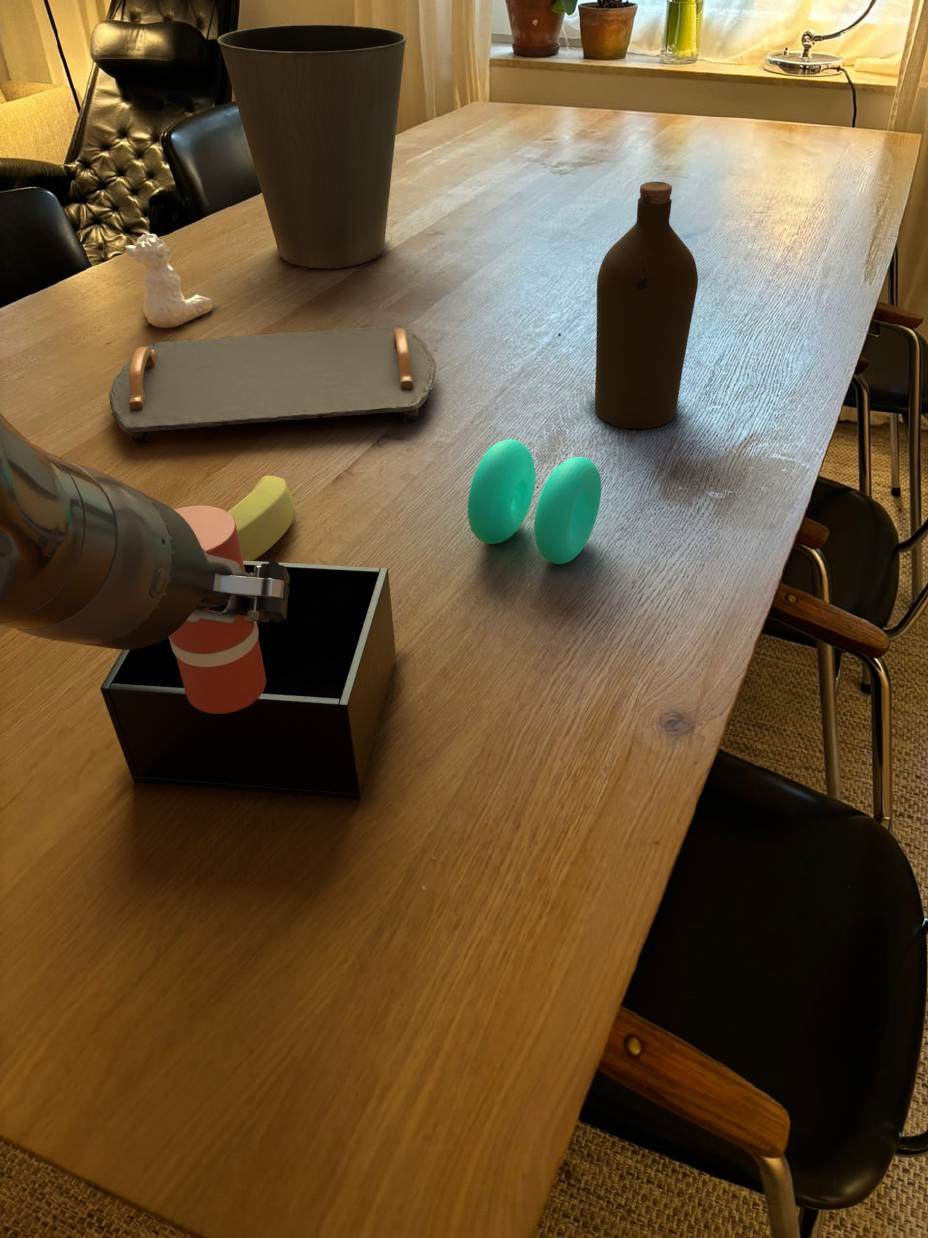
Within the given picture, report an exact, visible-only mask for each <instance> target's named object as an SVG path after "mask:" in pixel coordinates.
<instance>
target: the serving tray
mask: <svg viewBox="0 0 928 1238" xmlns="http://www.w3.org/2000/svg"><path fill="white" fill-rule="evenodd" d="M436 371H437V364H436V361H435V358H434V355H433V354H432V353H431V351H430V350H429V349H428V347H427V345H426V343H424V341H423V340H422V339H421V338H420V337H418V336H417V335H416V334H414V333H413V332H412V331H411V330H410V329H408V328H406V327H403V326H401V325H384V326H383V325H382V326H365V327H359V328H357V327H355V328H354V327H352V328H351V327H350V328H333V329H323V330H317V331H315V330H314V331H299V332H298V331H297V332H296V331H289V332H276V333H275V332H273V333H266V334H264V333H263V334H255V335H254V334H253V335H239V336H234V335H231V336H223V337H213V338H199V339H183V340H171V341H160V342H154V343H151V344H149V345H147V346H141V347H137V348H136V349H135V351H134V353H133V355H132V357H131V358H130V359H129V361H128V362H126V364H124V365H123V366H122V369H121V371H119V373H118V374H116V376H115V377H114V380H113V384H112V385H111V388H110V392H109V396H108V399H109V405H110V410H111V415H112V416H113V417H114V419H115V420H116V421H117V424H118V426H119V428H120V429H121V430H122V431H124V432H125V433H127V435H128V438H129V439H130V440H131V441H132V442H133V443H134V444H135V445H141V444H144V443H146V442H147V439H148V438H149V437H148V436H149V432H156V431H157V432H158V431H173V430H184V429H185V430H186V429H197V428H212V427H222V426H234V425H250V424H259V423H277V422H286V421H287V422H288V421H298V420H314V419H324V418H325V419H327V418H338V417H349V416H351V417H352V416H362V415H376V414H389V413H399V414H400V417H401V418H402V419H403V421H404V422H405V423H408V424H411V423H415V422H416V419H417V418H418V417H419V408H420V407H421V406H422V405H423V404H424V403H425V402H426V401H427V400H428V398H429V396H430V393H431V392H432V391H433V388H434V386H435V383H436V380H435V377H436V374H437V373H436Z"/></svg>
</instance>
